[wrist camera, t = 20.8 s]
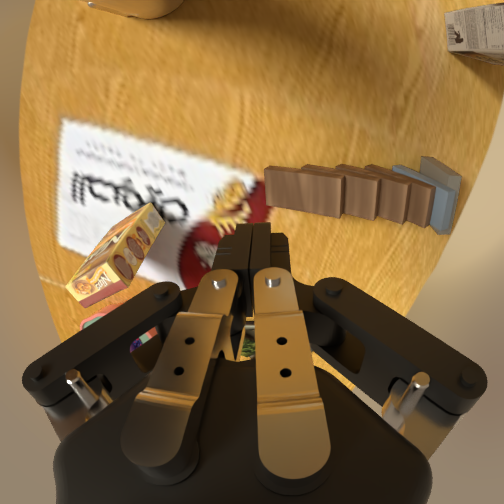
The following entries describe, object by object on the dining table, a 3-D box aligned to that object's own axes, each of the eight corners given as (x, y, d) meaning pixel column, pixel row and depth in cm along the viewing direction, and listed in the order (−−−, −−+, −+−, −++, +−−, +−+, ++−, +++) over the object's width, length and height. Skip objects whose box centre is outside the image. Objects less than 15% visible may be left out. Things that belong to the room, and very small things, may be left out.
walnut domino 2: (301, 203, 40) (373, 220, 35) (301, 167, 38) (377, 181, 32) (307, 199, 41) (377, 215, 36) (307, 164, 39) (380, 177, 33)
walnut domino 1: (266, 205, 41) (339, 218, 36) (264, 169, 38) (341, 179, 33) (272, 200, 42) (342, 213, 37) (269, 165, 39) (344, 175, 34)
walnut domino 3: (334, 201, 40) (402, 224, 34) (335, 166, 37) (407, 185, 31) (340, 198, 41) (406, 220, 34) (342, 163, 38) (412, 182, 32)
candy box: (151, 200, 43) (104, 259, 30) (167, 223, 44) (129, 288, 32) (111, 226, 45) (63, 286, 32) (126, 246, 47) (84, 310, 34)
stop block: (414, 208, 41) (437, 234, 34) (421, 156, 36) (449, 175, 30) (426, 208, 40) (450, 234, 34) (433, 157, 36) (461, 176, 29)
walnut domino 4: (362, 200, 40) (424, 228, 32) (364, 166, 37) (430, 189, 30) (369, 198, 40) (429, 224, 33) (372, 164, 38) (436, 186, 30)
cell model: (107, 344, 62) (89, 383, 52) (90, 274, 51) (62, 316, 41) (178, 360, 62) (166, 404, 53) (176, 292, 52) (158, 341, 42)
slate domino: (389, 199, 40) (440, 230, 32) (392, 165, 37) (448, 192, 29) (397, 197, 40) (448, 228, 32) (400, 164, 37) (455, 190, 29)
